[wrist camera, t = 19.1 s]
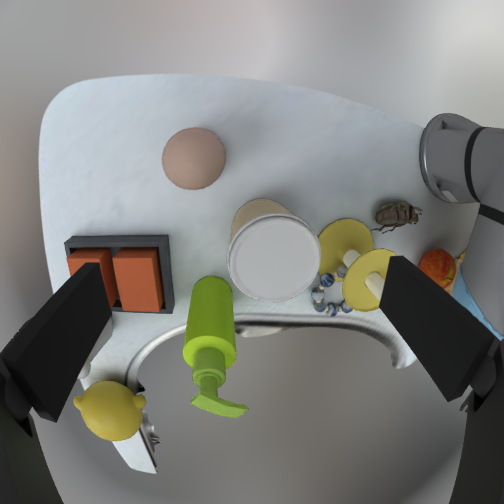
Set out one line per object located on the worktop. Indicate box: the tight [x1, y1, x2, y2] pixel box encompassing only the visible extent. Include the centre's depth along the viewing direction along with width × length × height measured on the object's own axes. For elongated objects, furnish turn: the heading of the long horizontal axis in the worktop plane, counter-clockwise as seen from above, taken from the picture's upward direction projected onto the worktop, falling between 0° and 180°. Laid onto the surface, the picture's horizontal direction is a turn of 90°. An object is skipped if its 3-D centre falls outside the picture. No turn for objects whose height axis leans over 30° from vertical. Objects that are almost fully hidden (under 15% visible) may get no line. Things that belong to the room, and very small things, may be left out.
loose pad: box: [112, 247, 165, 312], centre depth 36 cm, size 6×8×4 cm
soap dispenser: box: [183, 277, 248, 417], centre depth 32 cm, size 6×7×20 cm
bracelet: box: [311, 265, 353, 317], centre depth 41 cm, size 10×10×2 cm
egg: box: [162, 128, 226, 190], centre depth 29 cm, size 7×7×8 cm
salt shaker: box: [77, 316, 113, 379], centre depth 35 cm, size 6×6×13 cm
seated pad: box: [67, 248, 118, 308], centre depth 35 cm, size 6×8×4 cm
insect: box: [370, 201, 423, 234], centre depth 37 cm, size 5×9×3 cm
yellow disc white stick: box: [318, 219, 397, 312], centre depth 27 cm, size 10×10×27 cm
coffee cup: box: [227, 199, 321, 302], centre depth 32 cm, size 9×9×12 cm
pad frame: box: [64, 235, 175, 314], centre depth 37 cm, size 16×11×3 cm
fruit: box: [418, 249, 456, 289], centre depth 39 cm, size 7×7×8 cm
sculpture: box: [74, 381, 146, 441], centre depth 42 cm, size 15×13×13 cm
